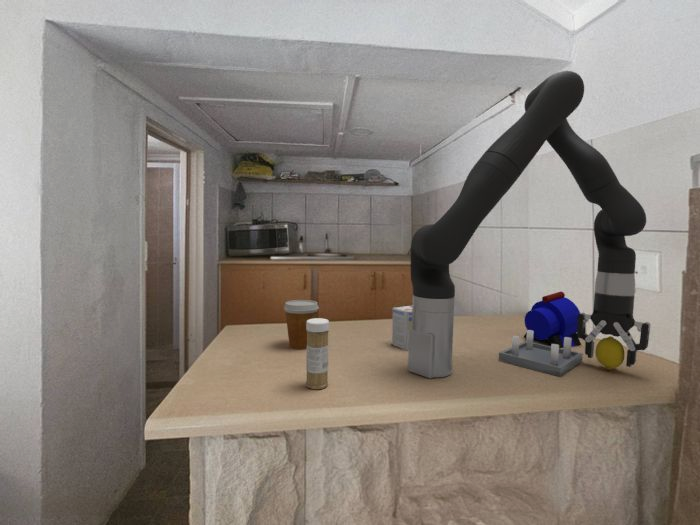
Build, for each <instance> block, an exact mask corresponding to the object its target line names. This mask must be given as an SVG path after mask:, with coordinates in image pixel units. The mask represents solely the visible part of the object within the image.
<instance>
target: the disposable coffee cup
mask: <svg viewBox="0 0 700 525" xmlns="http://www.w3.org/2000/svg"><path fill="white" fill-rule="evenodd" d="M319 308H320V307H319V305H318V302H317V301H315V300H308V299H293V300H288V301H286V302H285V304H284V306H283V310H284V312H285V318H286V319H285V320H286V328H287V334H288V336H287V337H288V345H289V348H291V349H295V350H307V330H306V322H307V320H309V319H314V318H317V315H318V311H319Z"/></svg>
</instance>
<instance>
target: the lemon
mask: <svg viewBox="0 0 700 525" xmlns="http://www.w3.org/2000/svg"><path fill="white" fill-rule="evenodd" d="M595 358H596V359H597V362H598V363H599V364H600V365H601V366H603V367H605V369H607V371H608V370H609V371H610V370H612V369H614V368H618V367H620V366H621V365H622V364H623V363H624V360H625V350H624V346H623V344H622V343H621V342H620V341H619V340H618V339H616V338H614V336H612V335H610V336H607V337H604V338H602V339H600V340H599V341H598V342H597V344H596V348H595Z"/></svg>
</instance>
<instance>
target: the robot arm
mask: <svg viewBox="0 0 700 525" xmlns="http://www.w3.org/2000/svg"><path fill="white" fill-rule="evenodd" d="M584 94H585V84H584V80H583V78H582V77H581V75H579V73H577V72H575V71H572V70H564V71H563V70H562V71H558V72H555V73H553V74H551V75H550V76H548V77H547V78H545V79H544V80H543V81H542V82H541V83H539V84H538V85H537V86H536V87H535V88H534V89H532V90H531V91H530V92H529V93H528V95H527V96H526V98H525V101H524V111H525V112H524V113H523V114H522V116H520V118H518V119H517V121H516V122H515V123H514V124H512V125H511V126H510V127H509V128H507V130H506V131H504V132H503V133H502V134H501V135H500V136H499V137H497V139H496V140H495V141H494V142H493V143H492V144H491V145H490V146H489V147H488V148H487V149H486V150H485V152H484V153H483V154H482V156H481V157H480V158H479V159H478V160H477V162H475V163H474V165H473V167H472V168H471V170H470V171H469V172H468V174H467V176H466V179H465V181H464V183H463V186H462V188H461V191H460V192H459V195H458V197H457V198H456V200H455V202H454V203H453V204H452V205H451V207H449V209H448V210H447V211H446V212H445V213H444V214H443V215H442V216H441V217H440V219H438V220H437V221H436V222H435V223H434V224H426V225H423V226H421V227H420V228H418V229H417V230H416V231H415V233H414V234H413V236H412V237H411V238H412V239H411V243H410V281H411V286H412V303H411V306H412V329H411V330H409V350H408V357H407V358H408V359H407V362H408V363H407V371H408V372H410V373H414V374H416V375H419V376H421V377H422V376H423V377H424V378H427V379H433V378H444V377H448V376H450V375H451V374H452V371H453V349H454V348H453V343H454V322H455V321H454V320H455V318H454V317H455V297H456V295H455V293H456V285H455V284H454V282H453V280H452V278H451V275H450V265H451V264H453V263H454V262H455V261H456V260H457V259H458V258H459V257H460V255H461V254H462V253H463V251H464V250H465V248H466V247H467V245H468V243H469V241H470V240H471V239H472V237H473V236H474V234H475V232H476V231H477V229H478V228H479V227H480V225H481V224H482V223H483V220H485V219H486V217H487V216H488V215H489V214H490V213H491V212H492V210H493V209H495V207H496V206H497V204H498V203H499V202H500V201H501V200H502V198H503V197H504V196H505V195H506V193H507V192H508V191H509V190H510V189H511V188H512V187H513V185H514V184H515V182H517V180H518V179H519V177H521V175H522V173H523V172H524V171H525V169H526V168H527V167H528V166H529V165H530V163H531V161H532V160H533V159H534V158H535V157H536V155H537V154H538V152H539V151H540V150H541V148H542V147H543V145H544V144H545V142H546V141H547V143H548V144H549V145H550V147H551V148H552V149H553V150H554V151H555V153H556V154H557V155H558V156H559V158H560V159H561V160H562V161H563V163H564V164H565V165H566V168H568V170H569V172H570V174H571V175H572V177H573V179H574V180H575V183H576V184H577V186H578V188H579V189H580V191H581V192H582V194H583V196H584V198H585V199H586V200H587V202H589V203H591V204H595V205H597V206H599V207H600V209H601V210H600V211H598V212H597V213H596V216H595V219H594V221H593V233H594V238H595V244H596V248H597V252H598V258H597V259H598V260H597V272H596V278H595V282H594V283H595V284H594V298H593V312H592V314H586V312H580V314H578V315H577V337H578V338H579V339H581V340H583V341H584V342H585V343H584V344H585V347H584V354H585V355H586V356H587V358H589V359H592V358H594V353H595V352H594V351H595V341H594V339H595V338H596V337H597V336H599V334H602V335H610V336H612V337H618V338H619V337H620V338H621V340H622V341H623V342H624V343H625V345H626V347H627V348H628V349H627V352H626V361H625V362H626V364H625V366H626V367H629V368H631V367H632V366H634V365H635V364H636V362H637V353H638V352H637V351H646V350H647V349H648V347H649V340H650V333H651V332H650V331H651V323H650V322H648V321H646V322H645V321H643V322H642V321H636V320H635V318H634V308H635V307H634V306H635V294H636V279H635V276H636V275H635V273H636V272H635V271H636V260H637V259H636V258H637V254H636V251H635V249H633V248H631V247H629V246H628V245H627V243H626V237H631V236H635V235H637V234H639V233H641V232H642V231H644V229H645V227H646V224H647V215H646V214H647V213H646V211H645V209H644V207H643V206H642V204H641V203H640V202H639V201H638V199H636V198H635V196H633V195H632V194H631V192H630V191H629V190H627V189H626V187H624V186H623V185H622V184H621V183H620V181H619V179H618V177H617V175H616V174H615V172H614V170H613V168H612V166H611V165H610V163H609V162H608V159H606V157H605V156H604V155H603V154H602V153H601V152H600V151H599V150H598V149H596V148H595V147H594V146H592V145H591V144H589V143H588V142H586V141H585V140H584V139H583V138H582V137H580V136H579V135H578V134H577V133H576V132H575V130H574V129H573V128H572V127H571V125H570V123H569V121H568V119H567V118H568V117H569V116H570V115H571V114H573V112H575V111H576V110H577V109H578V107H579V106H580V105H581V103H582V100H583V98H584ZM590 320H591V322H592V323H593V325H594V326H595V327H594V328H593V329H592V331H591V332H590V333H589V334H587V333H586V332H587V331H586V327H587V326H586V323H589V321H590ZM634 327H636V328H637V331H638V333H640V336H639V343H637V342H636V341H635V340H634V337H633V336H632V333H631V332H630V330H631V329H632V328H634Z"/></svg>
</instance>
